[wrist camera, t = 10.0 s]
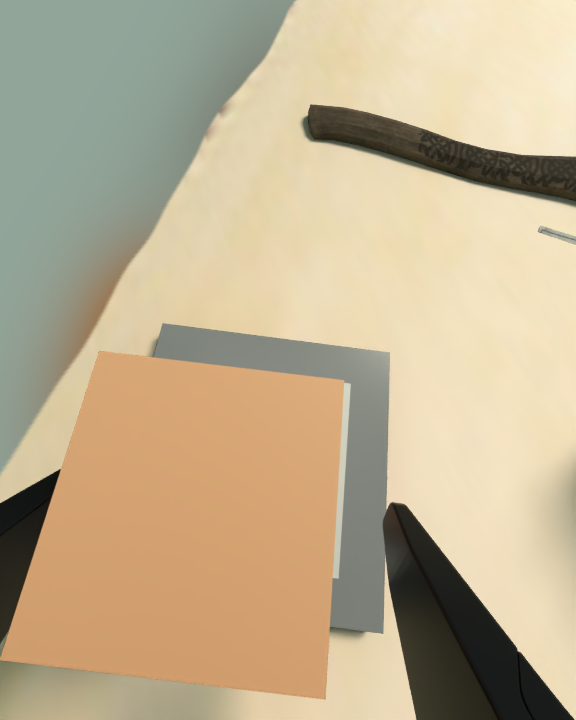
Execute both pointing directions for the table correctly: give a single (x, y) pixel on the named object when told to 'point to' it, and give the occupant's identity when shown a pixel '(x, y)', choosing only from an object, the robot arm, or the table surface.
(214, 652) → the tan square peg
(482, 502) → the table surface
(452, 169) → the axe
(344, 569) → the housing
